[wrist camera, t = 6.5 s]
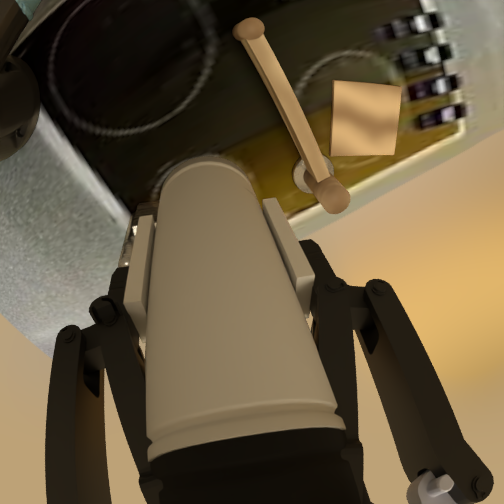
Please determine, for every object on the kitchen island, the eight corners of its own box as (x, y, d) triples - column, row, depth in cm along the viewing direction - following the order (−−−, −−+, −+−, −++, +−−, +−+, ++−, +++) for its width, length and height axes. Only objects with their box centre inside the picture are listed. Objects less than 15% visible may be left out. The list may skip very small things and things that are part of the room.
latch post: (127, 205, 41) (113, 252, 32) (172, 198, 42) (168, 244, 33) (132, 223, 43) (120, 272, 34) (175, 216, 44) (174, 265, 35)
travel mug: (271, 173, 21) (432, 502, 5) (226, 246, 24) (293, 540, 8) (185, 135, 18) (223, 586, 2) (147, 219, 21) (138, 557, 5)
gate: (251, 17, 28) (266, 10, 22) (330, 179, 43) (353, 205, 37) (223, 30, 28) (231, 25, 22) (308, 191, 43) (328, 218, 37)
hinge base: (292, 153, 41) (294, 156, 40) (332, 151, 42) (335, 153, 41) (291, 191, 45) (293, 195, 44) (329, 188, 45) (332, 191, 44)
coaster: (332, 80, 35) (334, 80, 35) (399, 86, 36) (401, 87, 36) (329, 154, 42) (330, 156, 41) (391, 153, 43) (393, 154, 43)
